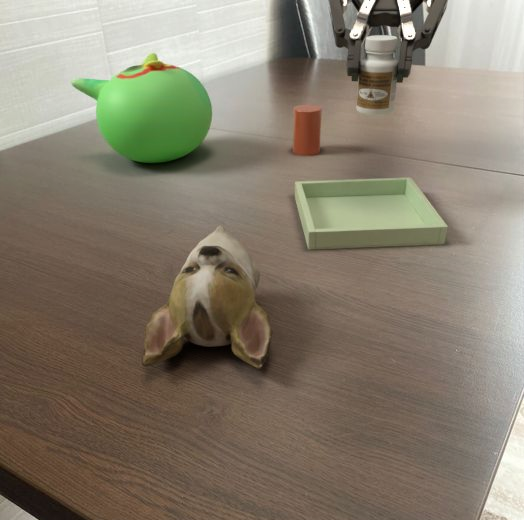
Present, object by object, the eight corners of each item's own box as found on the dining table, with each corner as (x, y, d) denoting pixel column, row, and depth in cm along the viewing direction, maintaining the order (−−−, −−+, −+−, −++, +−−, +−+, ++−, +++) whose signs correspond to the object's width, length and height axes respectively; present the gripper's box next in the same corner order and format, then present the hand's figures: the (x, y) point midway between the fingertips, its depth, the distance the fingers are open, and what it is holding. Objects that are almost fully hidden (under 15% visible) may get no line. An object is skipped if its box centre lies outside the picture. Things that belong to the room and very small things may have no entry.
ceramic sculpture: (277, 209, 50) (267, 306, 39) (278, 288, 56) (270, 394, 44) (162, 209, 51) (119, 304, 40) (175, 287, 57) (140, 390, 45)
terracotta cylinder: (317, 148, 92) (319, 104, 88) (321, 157, 89) (323, 111, 84) (291, 149, 92) (292, 105, 88) (294, 158, 89) (294, 112, 84)
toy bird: (147, 186, 80) (130, 74, 71) (82, 161, 89) (60, 60, 80) (234, 155, 90) (230, 54, 81) (168, 136, 99) (157, 44, 91)
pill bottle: (351, 114, 65) (357, 39, 60) (360, 105, 68) (366, 33, 63) (389, 117, 63) (397, 41, 59) (396, 108, 67) (405, 34, 62)
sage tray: (408, 195, 75) (411, 177, 74) (444, 247, 63) (448, 226, 61) (294, 199, 75) (294, 181, 73) (308, 252, 63) (308, 231, 61)
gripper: (330, -88, 61) (311, 54, 59) (465, -92, 59) (449, 56, 57) (333, -32, 69) (316, 95, 67) (453, -34, 66) (438, 99, 64)
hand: (377, 77), depth 62 cm, fingers closed on pill bottle, 4 cm apart
